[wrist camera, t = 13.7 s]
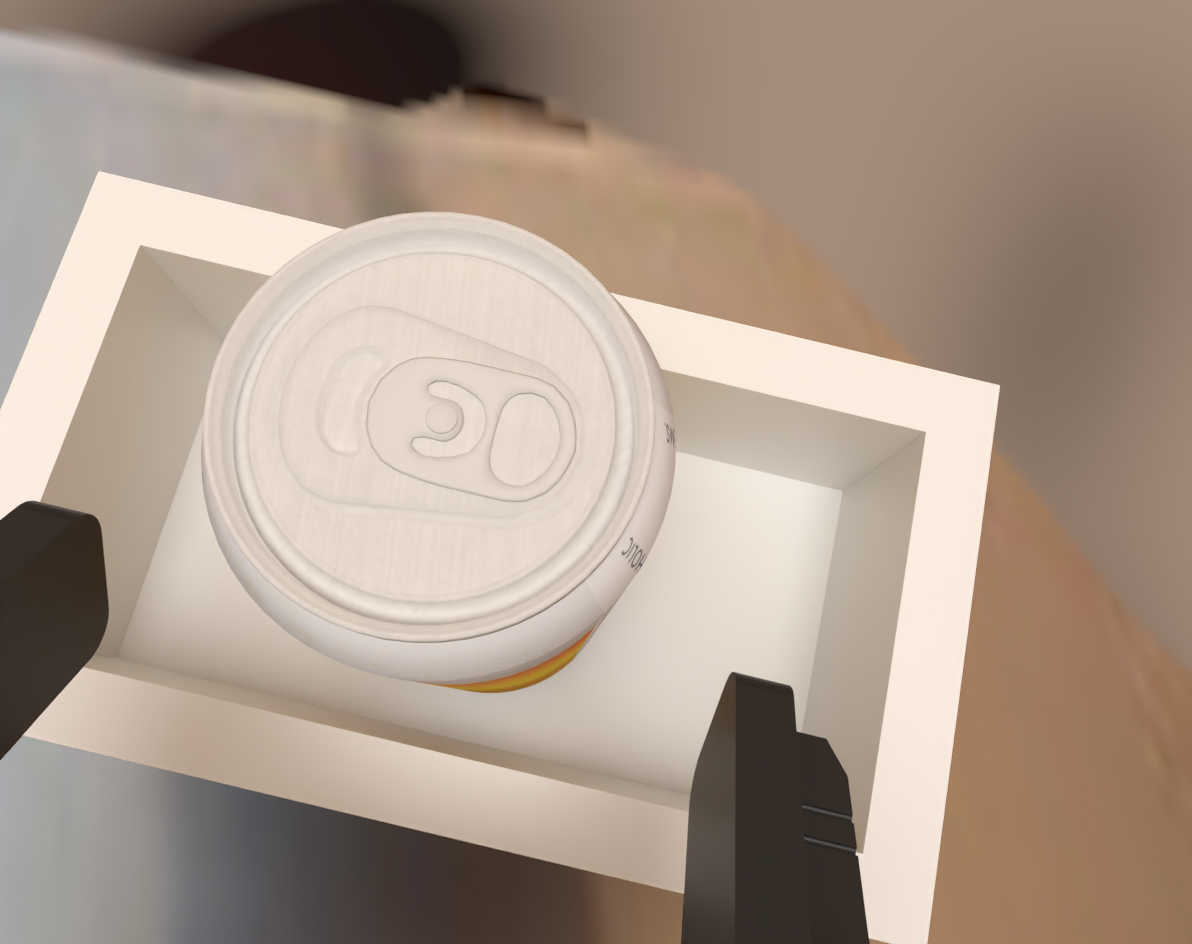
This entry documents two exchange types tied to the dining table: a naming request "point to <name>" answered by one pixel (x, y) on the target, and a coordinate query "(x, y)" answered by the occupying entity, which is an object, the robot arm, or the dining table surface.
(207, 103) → the dining table surface
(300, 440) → the beer can
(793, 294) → the dining table surface
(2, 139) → the dining table surface
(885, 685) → the white rectangular tray
